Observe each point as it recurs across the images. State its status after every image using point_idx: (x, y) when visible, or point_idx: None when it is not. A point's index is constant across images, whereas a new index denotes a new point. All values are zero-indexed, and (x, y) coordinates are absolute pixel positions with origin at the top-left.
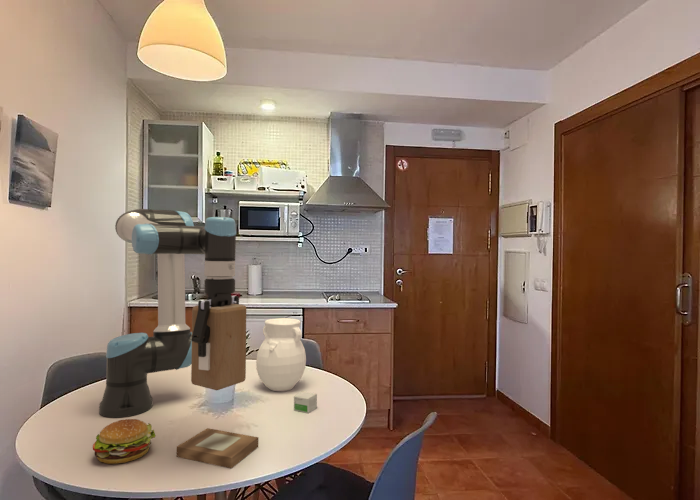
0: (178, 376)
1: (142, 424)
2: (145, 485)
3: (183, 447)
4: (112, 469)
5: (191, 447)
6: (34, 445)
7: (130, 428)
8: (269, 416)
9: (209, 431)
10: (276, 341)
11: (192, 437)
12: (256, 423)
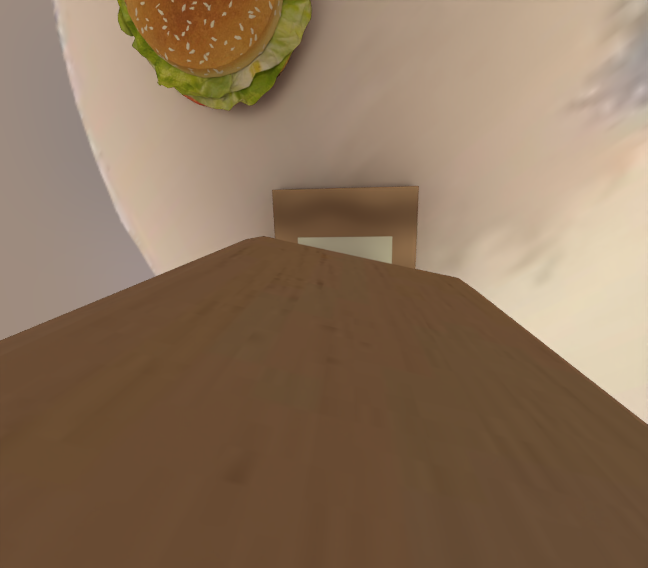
0: None
1: (232, 31)
2: (148, 224)
3: (276, 212)
4: (155, 79)
5: (285, 234)
6: None
7: (175, 29)
8: (632, 278)
9: (397, 210)
10: None
11: (340, 190)
12: (560, 269)
